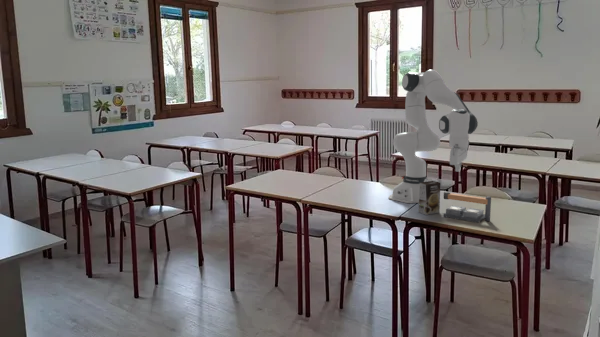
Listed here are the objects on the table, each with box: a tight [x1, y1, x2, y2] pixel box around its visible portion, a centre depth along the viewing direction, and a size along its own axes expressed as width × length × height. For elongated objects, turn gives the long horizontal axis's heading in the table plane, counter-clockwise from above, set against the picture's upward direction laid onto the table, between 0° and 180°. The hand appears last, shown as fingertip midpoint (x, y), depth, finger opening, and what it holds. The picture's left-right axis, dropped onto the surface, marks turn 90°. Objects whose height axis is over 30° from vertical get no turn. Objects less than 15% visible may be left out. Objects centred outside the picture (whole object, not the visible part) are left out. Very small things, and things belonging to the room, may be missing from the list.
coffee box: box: [418, 180, 441, 216], centre depth 264 cm, size 9×6×16 cm
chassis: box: [442, 204, 485, 223], centre depth 255 cm, size 18×10×4 cm, turn 51°
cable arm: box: [443, 191, 492, 222], centre depth 254 cm, size 24×3×12 cm, turn 51°
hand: (457, 171), depth 246 cm, fingers closed
